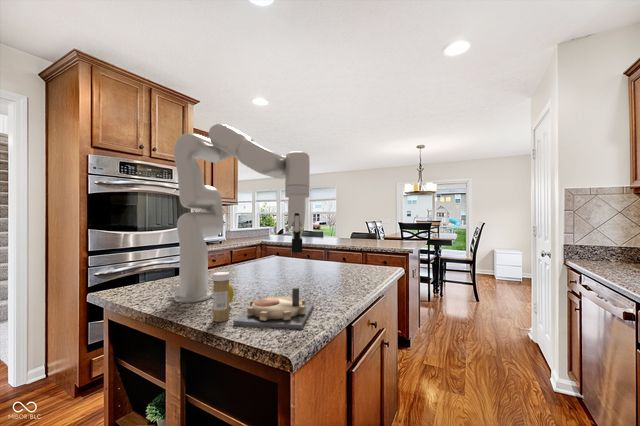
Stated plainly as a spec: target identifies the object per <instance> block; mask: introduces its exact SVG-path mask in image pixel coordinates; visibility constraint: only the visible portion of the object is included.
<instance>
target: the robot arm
mask: <svg viewBox="0 0 640 426" xmlns="http://www.w3.org/2000/svg"><path fill="white" fill-rule="evenodd" d="M233 157H234V158H236V159H237V160H238V161H239V162H240V163H241V164H242V165H244V166H246V167H247V168H249V169H251V170H253V171H254V172H257V173H259V174H260V175H263V176H266V177H267V176H268V177H270V178H274V179H280V180H283V179H285V181H284V185H285V187H284V188H285V189H284V195H285V198H288V199H287V200H288V201H287V229H289V230H291V228H292V236H291V237H292V239H291V252H292V253H303V237H302V233H303V232H302V231H303V229H304V227H305V222H306V203H307V202H306V198H310V175H311V174H310V173H311V172H310V168H311V167H310V156H309V154H308V152H307V153H306V152H304V151H289V152H288V153H286V155H282V154H279V153H278V152H277V153H276V152H274V151H272V150H269V149H267V148H265V147H263V146H261V145H259V144H258V143H256V142H255V141H254V139H253V138H252V137H250V136H249V135H247V134H245V133H243V132H242V131H240V130H239V129H236V128H234V127H232V126H229V125H227V124H225V123H224V124H223V123H216V124H213V125H212V126H211V127H210V128H209V130H208V137H205V136H202V135H200V134H196V133H190V132H188V133H183V134H181V135H179V136H178V138H177V139H176V140H175V142H174V146H173V159H174V163H175V166H176V171H177V182H178V183H177V184H178V195H179V202H180V205H181V206H182V207H183V208H186V209H191V210H202V212H199V211H192V212H191V211H190V212H185V213H183V214H182V215H180V216H179V218H178V219H177V221H176V231H177V235H178V241H179V242H178V243H179V269H178V270H179V274H178V278H179V279H178V282H179V283H178V284H179V285H173V286H171V288H170V289H169V291H170V293H176V294H175V295H174V297H173V298H174V299H173V301H175V302H176V303H184V304H187V303H189V304H190V303H199V302H202V301H206V300H209V299H210V298H213V292H211V291H208V284H209V283H208V280H209V279H208V278H209V277H208V274H209V272H208V267H209V266H208V265H209V263H208V262H209V257H208V256H209V249H208V245H207V242H206V240H205V239H204V238H213V237H217V236H219V235H220V234H221V233H222V232H223V228H224V211H223V200H222V196H221V193H220V191H219V190H218V189H217V188H215V187H214V186H211V185H205V183H204V179H203V178H204V177H203V170H202V168H201V166H200V164H199V163H198V161H197V159H198V160H201V161H205V162H208V163H214V164H215V163H221V162H223V161H225V160H227V159H230V158H233Z"/></svg>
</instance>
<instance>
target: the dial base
mask: <svg viewBox="0 0 640 426" xmlns="http://www.w3.org/2000/svg"><path fill="white" fill-rule="evenodd" d="M305 306H306V312H305V313H304V314H298V315H296V316H293V317H291V319H288V320H284V319H267V320H266V321H264V320H260V318H259V317H256V316H254V315H251V316H249V315H248V314H247V310H245V311H244V312H243V313H241V314H240V315H239V316H238V317H236V318H235V319H234V320H233V323H232V324H233V326H239V327H241V326H242V327H255V328H256V327H257V328H270V329H272V328H273V329H290V330H302V329H303V327H304V325H305V323H306V322H307V320H308V318H309V316H310V314H311V313H312V311H313V310H314V308H315V305H314V302H312V303H311V302H305Z"/></svg>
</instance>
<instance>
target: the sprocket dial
mask: <svg viewBox="0 0 640 426" xmlns="http://www.w3.org/2000/svg"><path fill="white" fill-rule="evenodd" d="M291 288H292V289H291V290H292V292H291V295H292V296H291V295H286V296H271V295H270V296H266V297H264V298H259V299H256V300H254V299H253V300H251V301H249V306H247V308H246V309H247V310H246V311H247V314H248V315H249V316H251V315H254V316H256V317H259V318H260V320H264V321H266V320H267V319H284V320H288V319H291V317H293V316H296V315H298V314H304V313H305V312H306V306H305V303H306V300H305V299H303V298H301V299H300V288H299V287H291Z"/></svg>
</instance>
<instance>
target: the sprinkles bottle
mask: <svg viewBox="0 0 640 426" xmlns="http://www.w3.org/2000/svg"><path fill="white" fill-rule="evenodd" d="M230 279H231V278H230V272H229V271H219V272H218V271H217V272H214V273H213V274H212V281H213V286H212V287H213V292H212V298H213V299H212V310H213V311H212V313H213V315H212V317H213V318H212V321H213V322H217V323H222V322H223V323H224V322H226V321H228V320H229V319H230V303H229V284H230Z"/></svg>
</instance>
